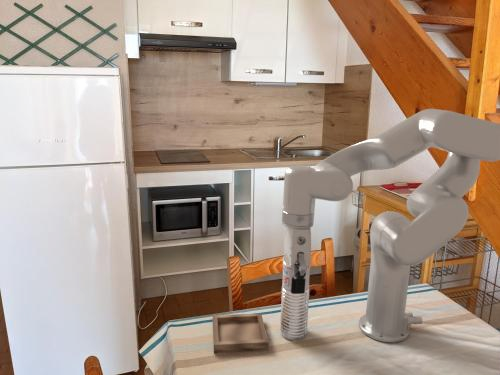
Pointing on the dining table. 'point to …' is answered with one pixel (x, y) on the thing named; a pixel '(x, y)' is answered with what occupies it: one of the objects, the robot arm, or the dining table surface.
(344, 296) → the dining table surface
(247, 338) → the tray
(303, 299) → the water bottle
